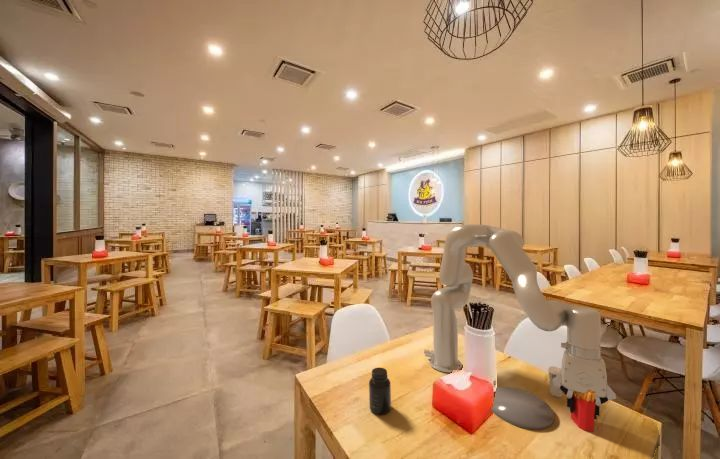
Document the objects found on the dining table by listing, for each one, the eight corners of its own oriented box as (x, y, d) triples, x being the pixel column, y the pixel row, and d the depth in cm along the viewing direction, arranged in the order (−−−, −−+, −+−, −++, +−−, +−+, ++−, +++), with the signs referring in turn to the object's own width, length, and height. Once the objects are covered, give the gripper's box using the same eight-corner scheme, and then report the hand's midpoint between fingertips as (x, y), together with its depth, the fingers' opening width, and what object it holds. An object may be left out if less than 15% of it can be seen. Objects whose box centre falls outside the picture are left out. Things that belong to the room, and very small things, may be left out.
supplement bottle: (379, 398, 93) (378, 363, 93) (395, 408, 88) (395, 370, 88) (364, 408, 88) (364, 371, 88) (381, 419, 83) (380, 379, 83)
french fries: (567, 413, 85) (567, 374, 85) (581, 414, 84) (582, 375, 84) (583, 433, 77) (584, 390, 77) (600, 435, 76) (601, 392, 76)
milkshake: (570, 399, 92) (570, 369, 91) (551, 397, 93) (552, 368, 93) (562, 391, 96) (563, 362, 96) (545, 389, 97) (545, 361, 97)
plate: (483, 414, 85) (483, 409, 85) (491, 385, 100) (491, 381, 100) (555, 438, 75) (555, 433, 75) (552, 402, 90) (552, 398, 90)
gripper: (548, 348, 82) (547, 410, 82) (626, 364, 72) (625, 433, 73) (547, 339, 88) (547, 396, 88) (619, 352, 79) (618, 416, 79)
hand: (582, 412), depth 81 cm, fingers closed on french fries, 4 cm apart
